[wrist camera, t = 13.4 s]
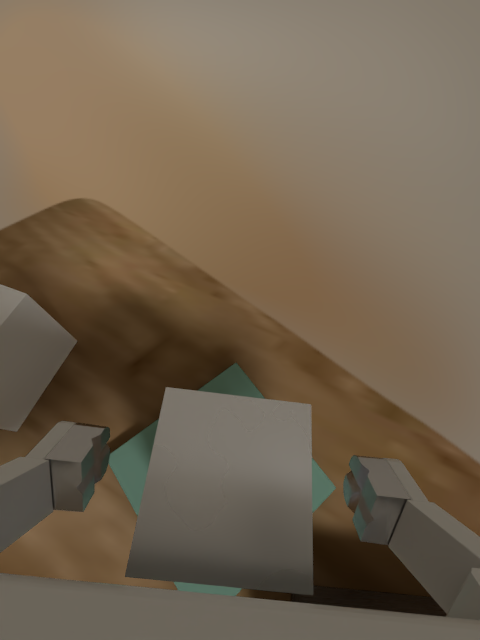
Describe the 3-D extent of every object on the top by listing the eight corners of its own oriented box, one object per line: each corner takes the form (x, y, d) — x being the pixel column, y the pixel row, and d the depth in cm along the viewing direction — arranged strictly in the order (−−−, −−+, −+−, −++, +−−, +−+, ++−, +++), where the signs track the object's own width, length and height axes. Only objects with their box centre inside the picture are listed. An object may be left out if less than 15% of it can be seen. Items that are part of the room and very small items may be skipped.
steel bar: (253, 519, 15) (313, 595, 6) (176, 511, 15) (124, 577, 6) (258, 437, 17) (311, 404, 8) (190, 429, 17) (165, 387, 8)
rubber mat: (201, 625, 14) (201, 632, 13) (108, 457, 16) (105, 457, 16) (332, 487, 17) (336, 487, 16) (235, 365, 19) (236, 362, 19)
